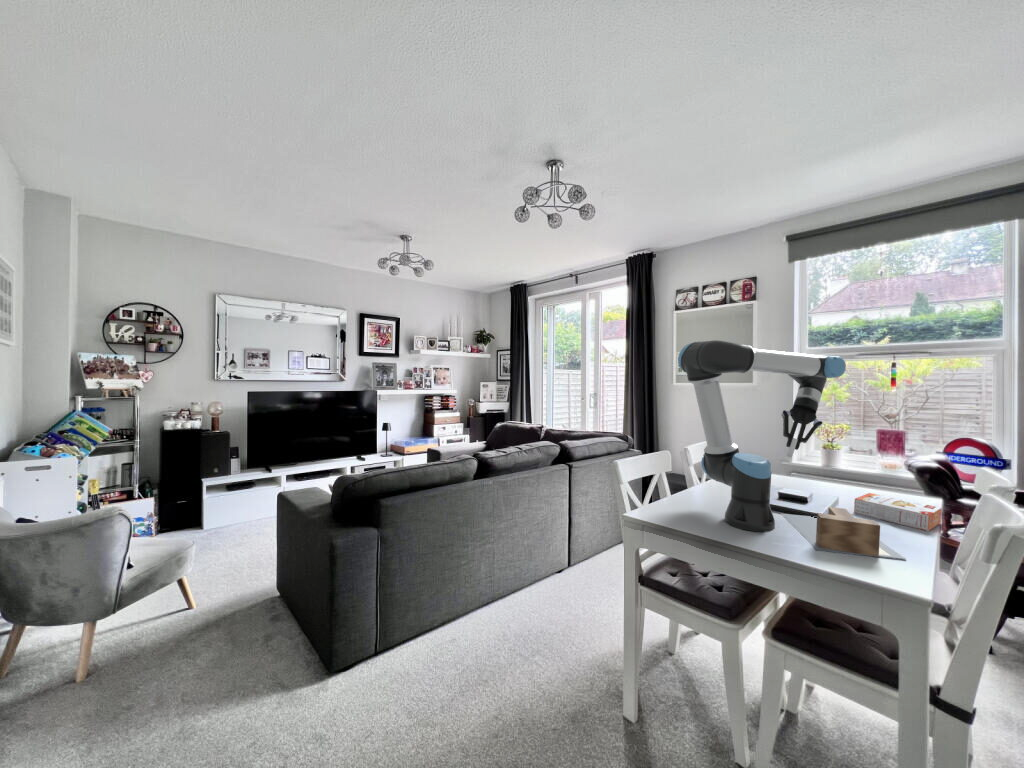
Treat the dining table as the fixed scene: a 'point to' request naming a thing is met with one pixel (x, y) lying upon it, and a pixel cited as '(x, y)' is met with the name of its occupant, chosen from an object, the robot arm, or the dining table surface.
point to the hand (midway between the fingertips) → (789, 455)
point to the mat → (808, 530)
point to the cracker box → (898, 511)
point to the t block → (847, 532)
